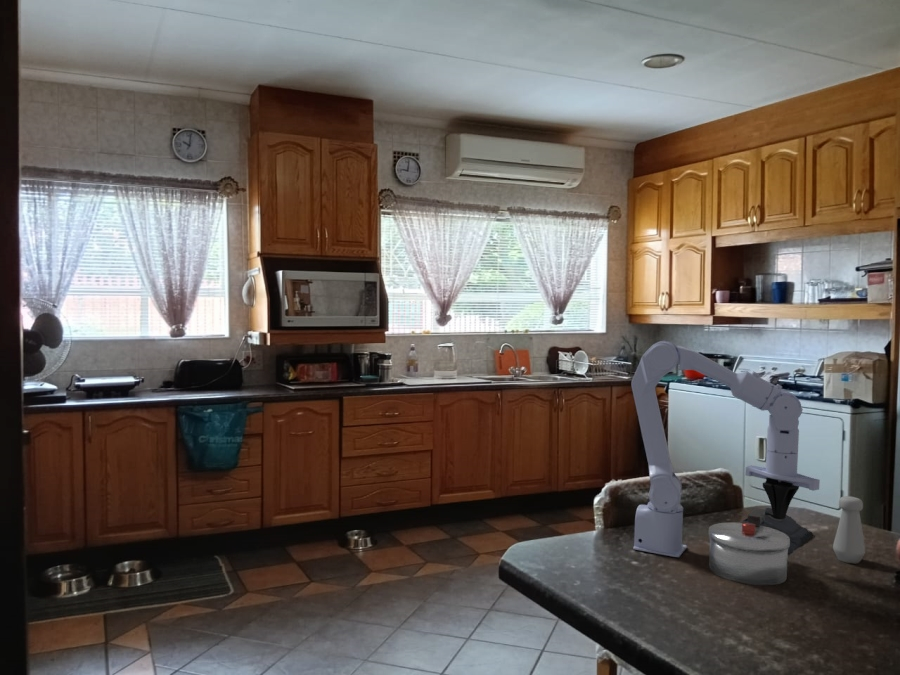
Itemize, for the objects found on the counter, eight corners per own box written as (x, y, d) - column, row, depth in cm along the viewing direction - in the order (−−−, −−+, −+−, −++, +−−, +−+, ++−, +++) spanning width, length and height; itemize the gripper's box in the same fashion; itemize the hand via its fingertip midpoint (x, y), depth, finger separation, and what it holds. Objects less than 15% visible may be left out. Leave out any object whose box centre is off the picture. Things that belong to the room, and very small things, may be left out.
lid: (784, 557, 130) (785, 540, 129) (701, 542, 137) (701, 525, 137) (797, 530, 147) (797, 514, 147) (722, 517, 154) (722, 503, 154)
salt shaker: (868, 566, 144) (871, 502, 144) (838, 563, 146) (840, 500, 145) (858, 556, 150) (861, 495, 150) (828, 554, 151) (831, 493, 151)
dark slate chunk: (716, 543, 159) (716, 521, 159) (748, 522, 176) (749, 502, 175) (790, 559, 149) (790, 537, 149) (816, 535, 166) (817, 515, 166)
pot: (782, 591, 130) (784, 558, 130) (702, 575, 137) (703, 544, 137) (792, 559, 147) (793, 530, 147) (720, 546, 154) (721, 519, 154)
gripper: (828, 455, 140) (825, 524, 141) (760, 443, 152) (757, 506, 152) (809, 459, 136) (806, 529, 137) (740, 446, 148) (737, 511, 148)
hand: (779, 518), depth 144 cm, fingers closed
